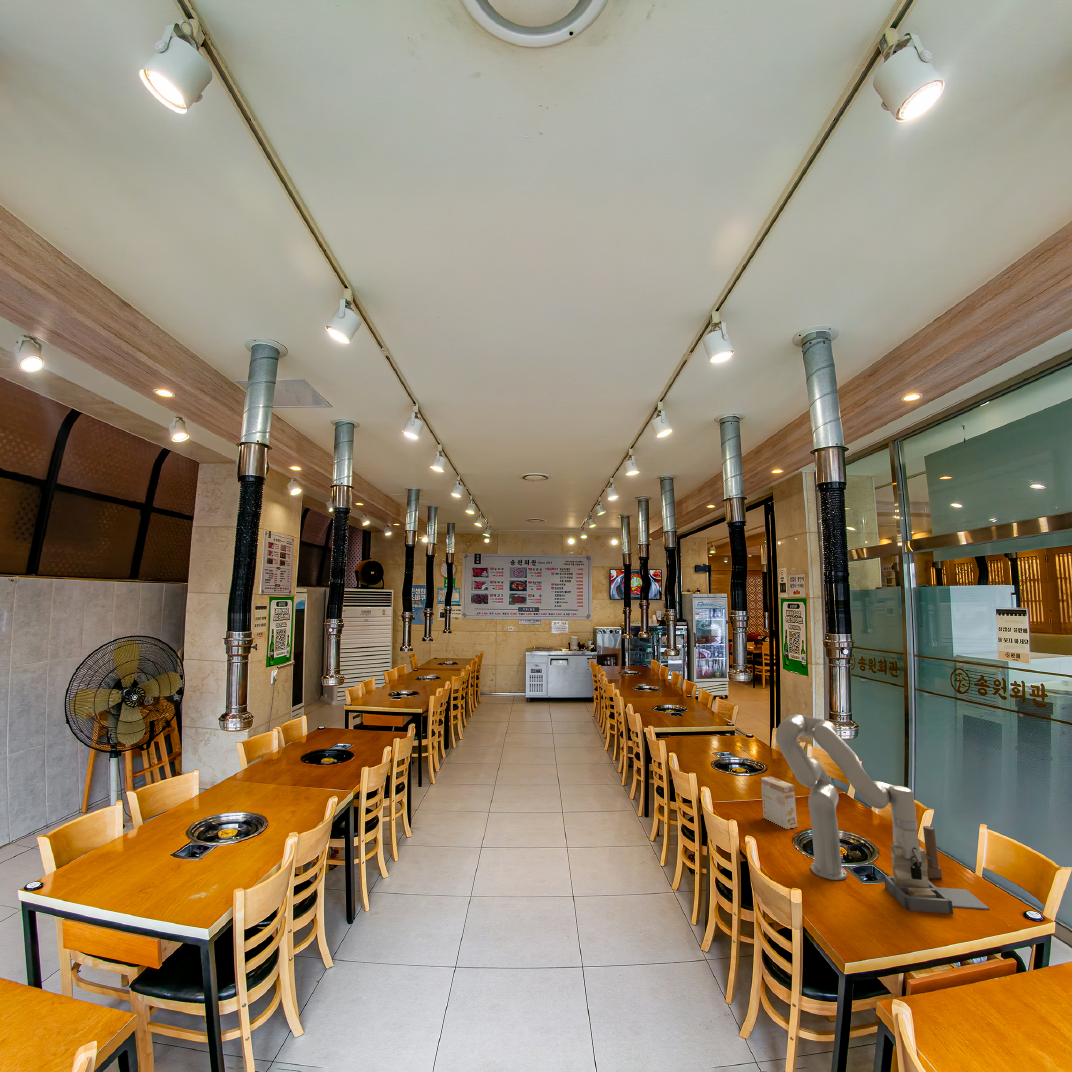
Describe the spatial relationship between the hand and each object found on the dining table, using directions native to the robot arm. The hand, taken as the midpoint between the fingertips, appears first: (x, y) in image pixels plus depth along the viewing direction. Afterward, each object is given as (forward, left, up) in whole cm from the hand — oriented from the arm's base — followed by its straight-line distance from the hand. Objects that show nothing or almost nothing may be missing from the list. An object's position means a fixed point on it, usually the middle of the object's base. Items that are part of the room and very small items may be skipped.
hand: (910, 872), depth 187 cm
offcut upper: (+7, 0, -5) cm, 9 cm away
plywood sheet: (0, 0, -8) cm, 8 cm away
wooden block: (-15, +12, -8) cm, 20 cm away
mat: (0, +14, -7) cm, 16 cm away
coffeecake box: (-60, -29, -8) cm, 67 cm away
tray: (+3, 0, -7) cm, 8 cm away
